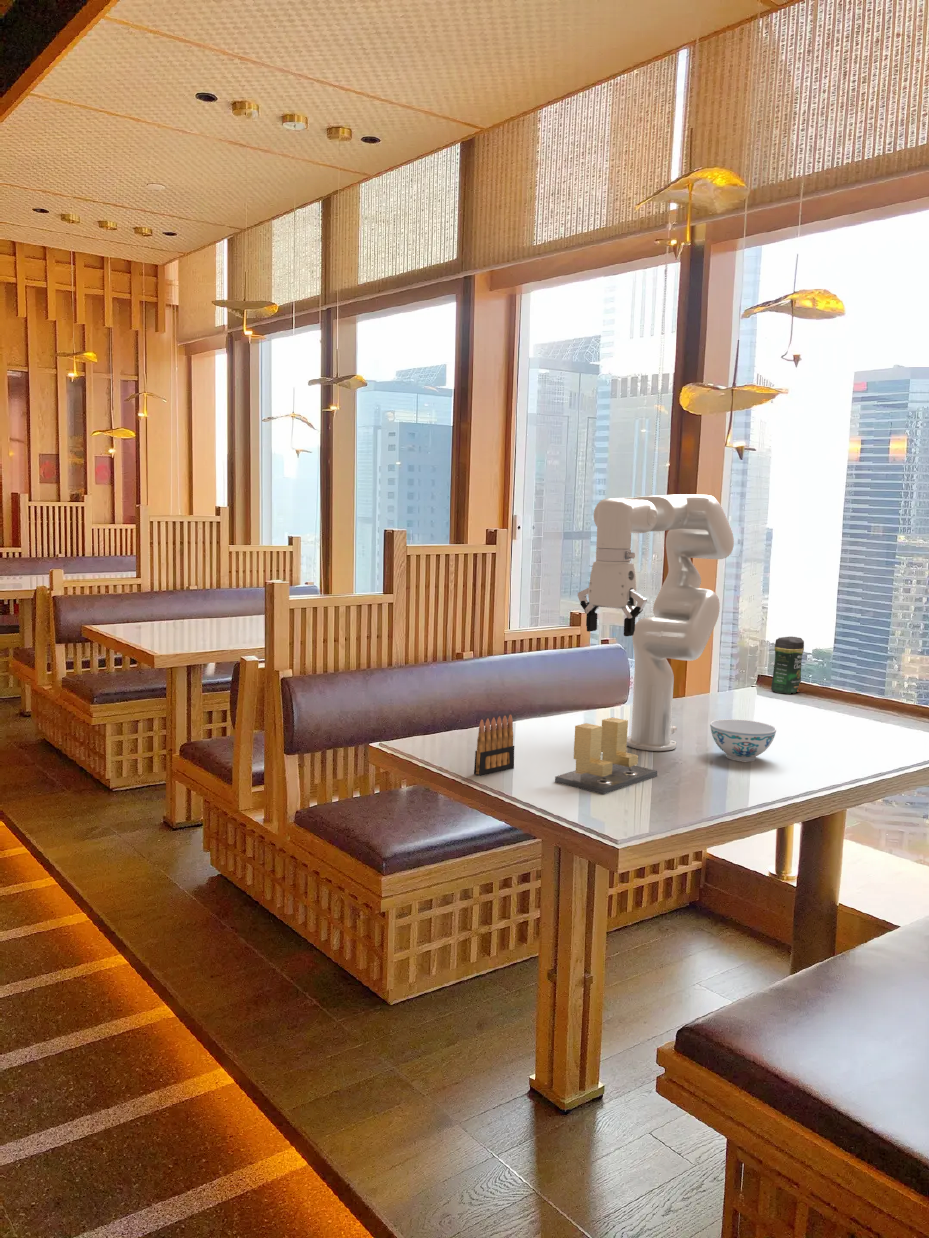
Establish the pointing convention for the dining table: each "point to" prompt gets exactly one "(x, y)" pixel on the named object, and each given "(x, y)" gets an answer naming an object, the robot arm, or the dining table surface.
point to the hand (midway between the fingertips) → (609, 633)
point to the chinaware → (742, 738)
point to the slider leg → (616, 743)
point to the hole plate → (612, 777)
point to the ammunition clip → (494, 747)
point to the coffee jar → (787, 664)
